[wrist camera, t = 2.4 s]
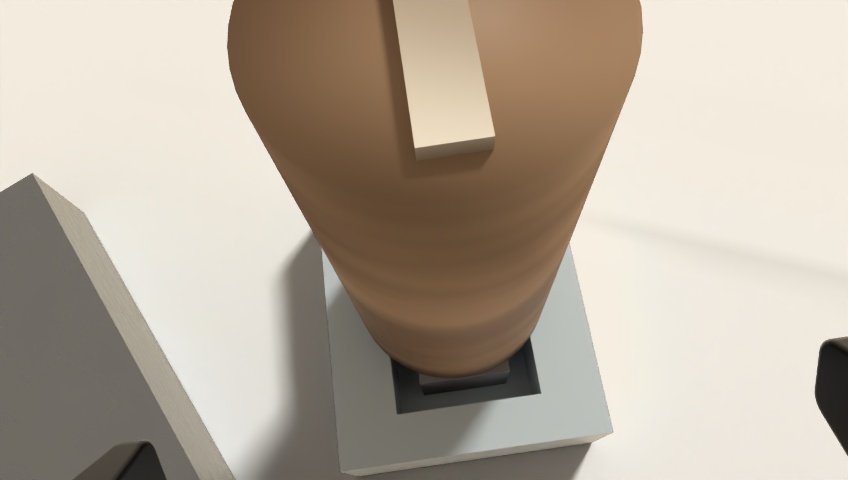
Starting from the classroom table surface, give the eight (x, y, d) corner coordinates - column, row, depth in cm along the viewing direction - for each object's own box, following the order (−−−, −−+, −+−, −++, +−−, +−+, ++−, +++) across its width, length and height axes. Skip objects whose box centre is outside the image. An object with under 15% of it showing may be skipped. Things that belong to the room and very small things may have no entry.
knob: (553, 376, 20) (703, 155, 7) (376, 402, 20) (223, 226, 7) (519, 215, 21) (593, -179, 9) (359, 238, 21) (215, -122, 9)
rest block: (592, 442, 20) (613, 432, 17) (357, 476, 20) (339, 471, 17) (533, 173, 23) (542, 127, 20) (332, 202, 23) (314, 160, 20)
